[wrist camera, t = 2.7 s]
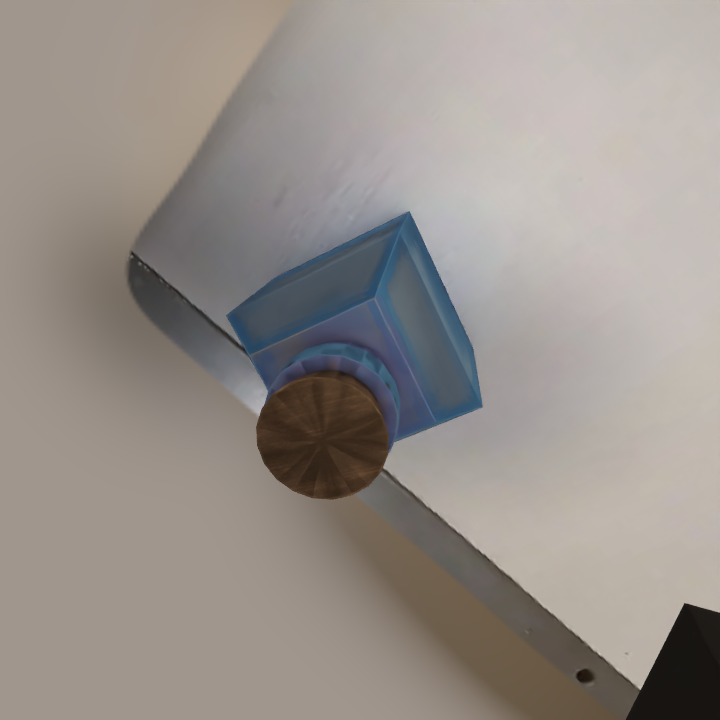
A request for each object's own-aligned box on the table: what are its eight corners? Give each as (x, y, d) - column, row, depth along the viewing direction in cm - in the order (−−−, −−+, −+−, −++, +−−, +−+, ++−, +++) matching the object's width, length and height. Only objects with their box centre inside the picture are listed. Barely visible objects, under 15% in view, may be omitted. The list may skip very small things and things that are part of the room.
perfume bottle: (341, 404, 27) (272, 583, 16) (274, 278, 26) (146, 377, 15) (473, 349, 26) (498, 503, 15) (409, 211, 25) (382, 265, 13)
